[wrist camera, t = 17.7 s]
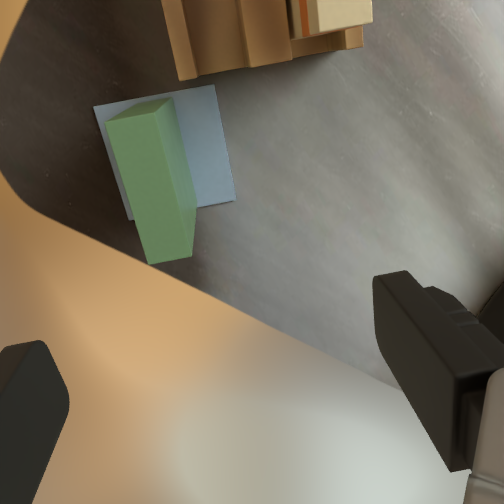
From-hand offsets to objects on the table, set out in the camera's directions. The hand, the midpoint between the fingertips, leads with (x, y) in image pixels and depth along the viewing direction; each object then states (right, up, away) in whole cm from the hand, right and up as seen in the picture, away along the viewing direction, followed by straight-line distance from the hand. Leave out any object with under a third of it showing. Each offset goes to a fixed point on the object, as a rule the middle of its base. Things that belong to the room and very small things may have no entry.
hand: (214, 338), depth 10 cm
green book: (-8, +12, +33) cm, 36 cm away
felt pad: (-8, +12, +34) cm, 36 cm away
